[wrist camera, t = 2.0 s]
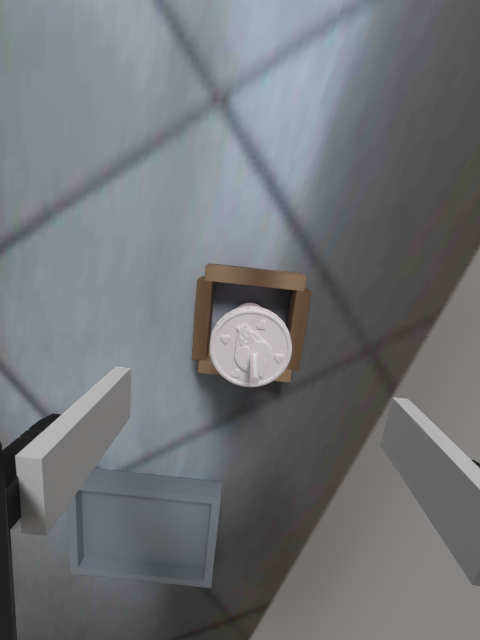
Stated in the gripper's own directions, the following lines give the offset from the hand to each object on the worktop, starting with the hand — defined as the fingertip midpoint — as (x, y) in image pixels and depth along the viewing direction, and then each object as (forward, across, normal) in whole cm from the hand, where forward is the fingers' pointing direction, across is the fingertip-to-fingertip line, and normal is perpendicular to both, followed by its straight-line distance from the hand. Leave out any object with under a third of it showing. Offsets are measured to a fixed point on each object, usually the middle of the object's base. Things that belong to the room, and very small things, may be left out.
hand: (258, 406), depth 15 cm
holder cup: (+18, 0, 0) cm, 18 cm away
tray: (+18, -10, -28) cm, 35 cm away
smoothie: (+18, 0, 0) cm, 18 cm away
